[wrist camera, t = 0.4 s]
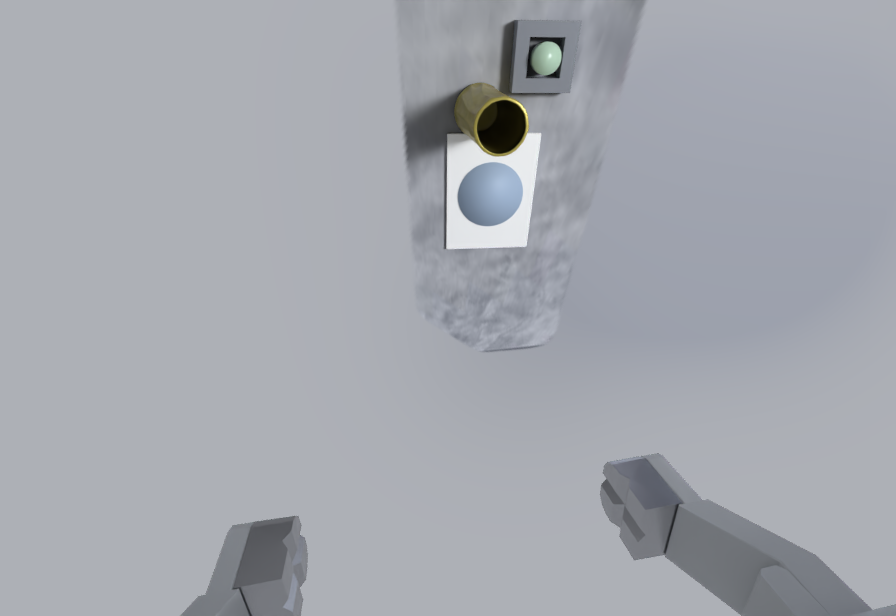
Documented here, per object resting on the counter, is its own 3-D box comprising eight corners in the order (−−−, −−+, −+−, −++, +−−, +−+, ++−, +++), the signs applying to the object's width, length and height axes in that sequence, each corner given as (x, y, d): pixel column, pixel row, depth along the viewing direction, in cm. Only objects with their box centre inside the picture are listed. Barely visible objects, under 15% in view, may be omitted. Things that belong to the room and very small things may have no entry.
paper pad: (447, 133, 52) (447, 134, 51) (540, 132, 53) (541, 133, 52) (446, 247, 61) (446, 249, 61) (525, 245, 62) (526, 247, 61)
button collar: (514, 20, 45) (518, 20, 44) (576, 20, 46) (581, 20, 45) (509, 90, 50) (511, 93, 48) (565, 90, 50) (569, 92, 49)
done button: (531, 41, 46) (535, 41, 45) (559, 41, 46) (563, 42, 45) (528, 73, 48) (531, 75, 47) (555, 73, 48) (558, 75, 47)
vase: (512, 95, 50) (545, 107, 38) (490, 145, 53) (515, 171, 40) (466, 73, 48) (485, 78, 36) (446, 126, 51) (458, 147, 39)
